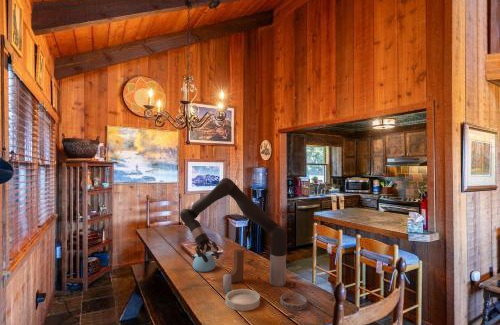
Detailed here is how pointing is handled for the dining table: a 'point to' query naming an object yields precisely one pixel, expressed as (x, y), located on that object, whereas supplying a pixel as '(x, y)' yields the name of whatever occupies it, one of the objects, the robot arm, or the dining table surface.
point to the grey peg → (226, 283)
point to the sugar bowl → (201, 265)
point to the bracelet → (292, 306)
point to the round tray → (242, 299)
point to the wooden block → (237, 266)
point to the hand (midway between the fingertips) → (212, 260)
